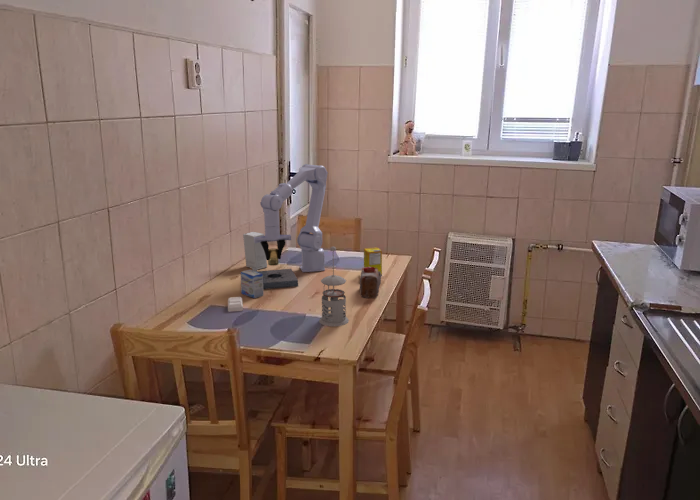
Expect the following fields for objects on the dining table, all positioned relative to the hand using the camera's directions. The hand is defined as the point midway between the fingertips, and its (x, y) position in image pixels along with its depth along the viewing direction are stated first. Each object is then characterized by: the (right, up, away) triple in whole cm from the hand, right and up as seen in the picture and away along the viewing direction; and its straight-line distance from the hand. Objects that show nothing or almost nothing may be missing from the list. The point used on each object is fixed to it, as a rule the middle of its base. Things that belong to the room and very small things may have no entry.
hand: (273, 259), depth 223 cm
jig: (0, -9, +1) cm, 9 cm away
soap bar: (-10, -17, -26) cm, 32 cm away
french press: (+25, -19, -38) cm, 49 cm away
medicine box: (-6, -13, -14) cm, 20 cm away
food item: (+38, -12, -11) cm, 41 cm away
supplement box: (+40, -7, +9) cm, 41 cm away
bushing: (0, -2, +1) cm, 2 cm away
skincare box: (-10, -4, +21) cm, 24 cm away
